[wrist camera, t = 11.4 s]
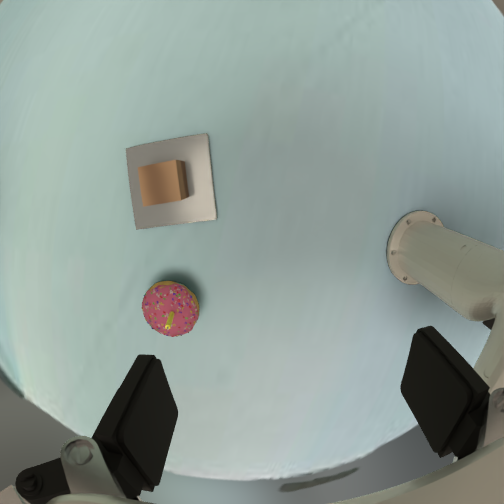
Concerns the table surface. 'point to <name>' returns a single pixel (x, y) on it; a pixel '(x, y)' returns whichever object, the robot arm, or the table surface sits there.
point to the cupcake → (170, 308)
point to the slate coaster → (198, 181)
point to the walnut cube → (163, 182)
